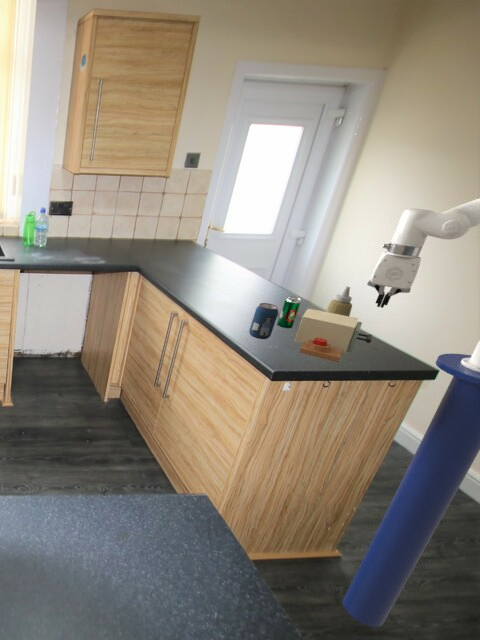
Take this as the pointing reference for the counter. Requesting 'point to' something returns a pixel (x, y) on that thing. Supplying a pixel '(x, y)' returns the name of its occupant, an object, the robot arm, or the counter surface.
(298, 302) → the soda can
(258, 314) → the soda can
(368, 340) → the grey piece
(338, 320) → the cream appliance housing
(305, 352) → the control block
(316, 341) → the button
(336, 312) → the squeeze bottle
